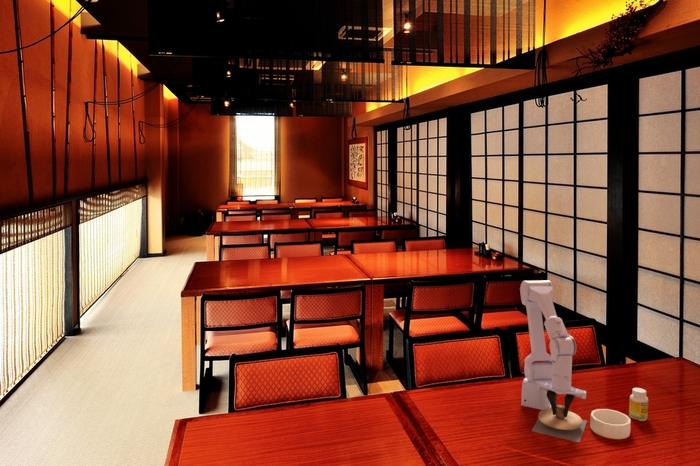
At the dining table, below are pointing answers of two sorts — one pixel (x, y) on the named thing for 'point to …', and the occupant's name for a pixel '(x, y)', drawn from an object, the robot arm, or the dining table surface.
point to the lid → (560, 419)
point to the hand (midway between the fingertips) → (560, 414)
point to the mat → (560, 431)
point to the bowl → (610, 423)
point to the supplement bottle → (638, 404)
